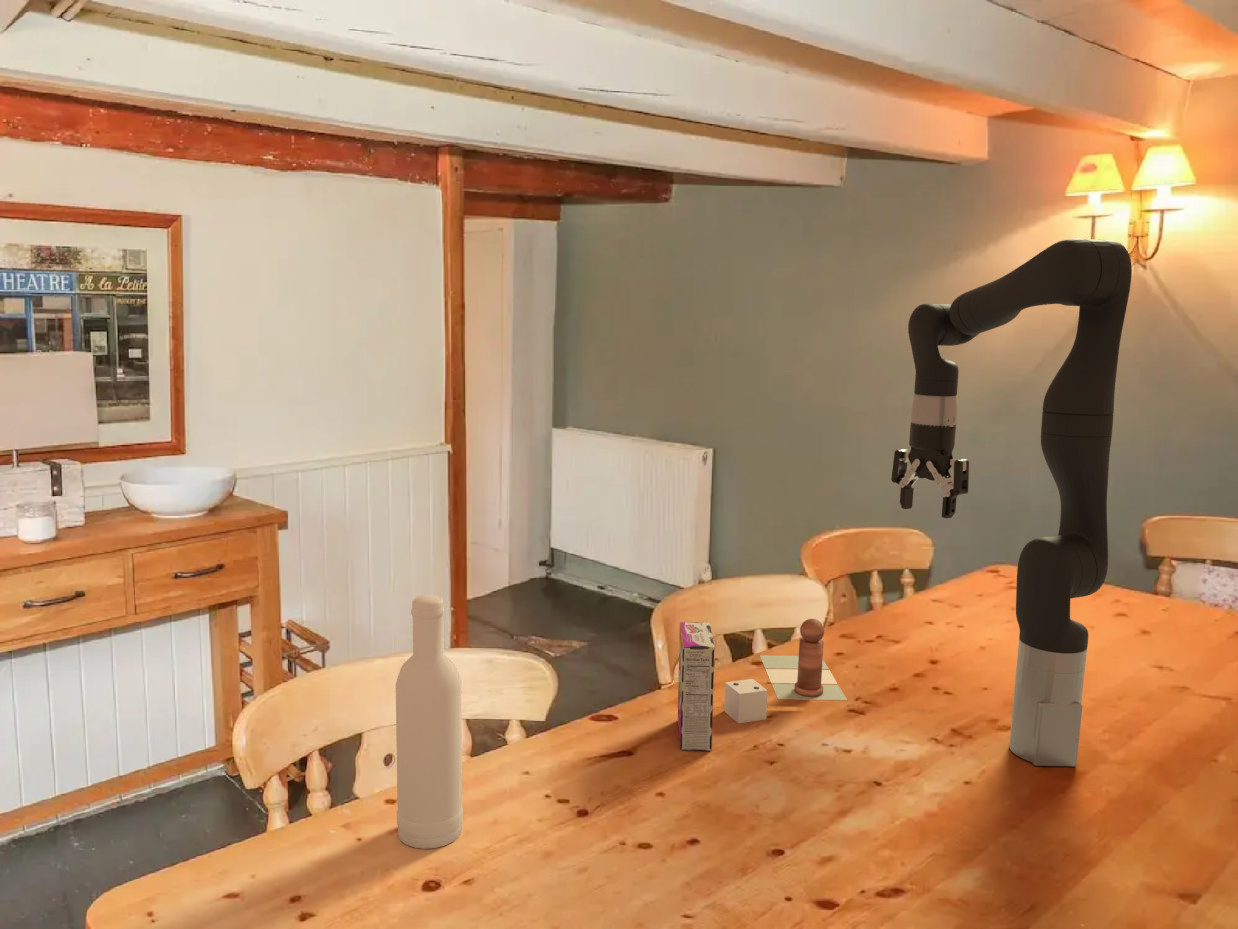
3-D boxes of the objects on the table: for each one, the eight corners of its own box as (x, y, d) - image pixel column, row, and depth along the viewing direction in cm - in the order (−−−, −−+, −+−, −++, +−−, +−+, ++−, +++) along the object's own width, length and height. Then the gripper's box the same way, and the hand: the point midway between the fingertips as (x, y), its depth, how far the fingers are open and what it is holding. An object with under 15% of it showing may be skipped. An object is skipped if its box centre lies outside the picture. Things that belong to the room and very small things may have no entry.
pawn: (825, 697, 164) (830, 624, 162) (797, 697, 164) (801, 623, 162) (819, 686, 169) (824, 615, 167) (792, 685, 169) (796, 614, 167)
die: (766, 720, 157) (767, 689, 156) (738, 724, 155) (739, 693, 154) (751, 707, 161) (752, 678, 161) (724, 711, 160) (725, 682, 159)
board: (852, 705, 163) (852, 702, 163) (774, 704, 163) (774, 700, 163) (824, 658, 185) (824, 655, 184) (755, 657, 184) (755, 653, 184)
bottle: (434, 809, 127) (432, 585, 122) (476, 831, 122) (475, 598, 117) (383, 834, 121) (379, 599, 116) (425, 858, 116) (422, 613, 111)
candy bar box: (675, 720, 156) (678, 620, 153) (707, 721, 156) (710, 621, 153) (678, 751, 145) (681, 645, 142) (712, 752, 145) (716, 646, 142)
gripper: (886, 417, 172) (880, 508, 175) (955, 426, 161) (947, 523, 164) (913, 415, 177) (907, 503, 179) (982, 424, 165) (975, 518, 168)
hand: (926, 513), depth 171 cm, fingers open, 8 cm apart
